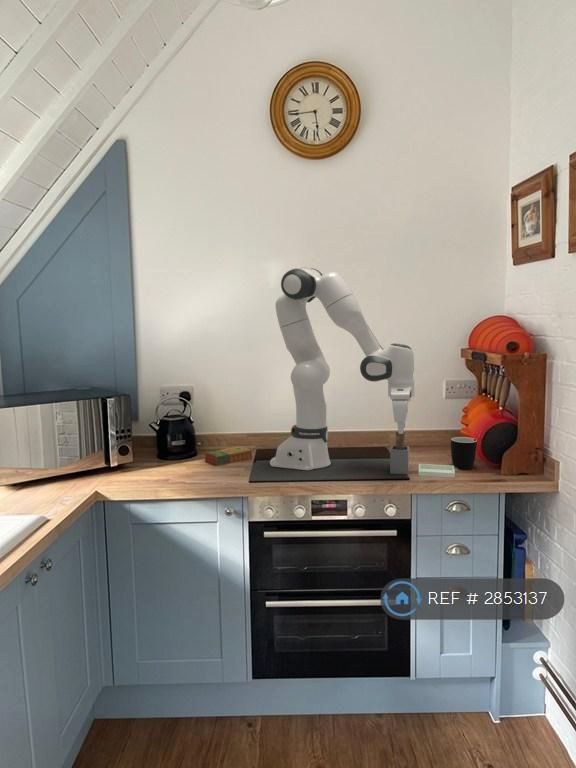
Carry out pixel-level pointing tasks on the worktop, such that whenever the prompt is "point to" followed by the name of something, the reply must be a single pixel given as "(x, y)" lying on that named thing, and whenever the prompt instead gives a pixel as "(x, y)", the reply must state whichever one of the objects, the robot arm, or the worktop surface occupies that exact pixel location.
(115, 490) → the worktop surface
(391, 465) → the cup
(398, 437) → the dowel
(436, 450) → the worktop surface
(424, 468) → the tray
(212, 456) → the carton
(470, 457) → the mug
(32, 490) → the worktop surface
